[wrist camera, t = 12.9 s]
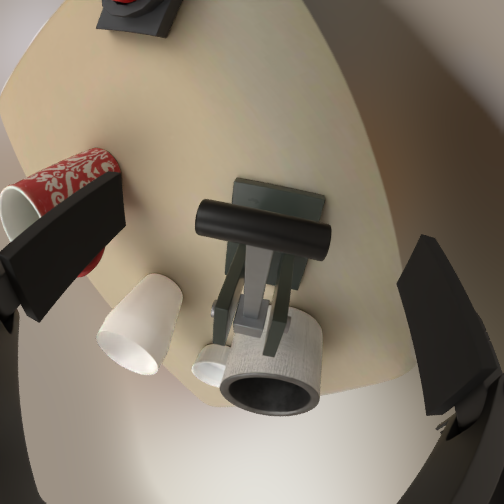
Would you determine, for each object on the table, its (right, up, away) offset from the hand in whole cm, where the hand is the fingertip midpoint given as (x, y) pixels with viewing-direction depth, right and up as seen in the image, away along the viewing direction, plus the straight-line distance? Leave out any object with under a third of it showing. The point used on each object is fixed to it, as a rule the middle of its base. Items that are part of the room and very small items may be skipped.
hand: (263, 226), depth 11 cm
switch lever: (0, -2, +6) cm, 6 cm away
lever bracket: (+2, +1, +20) cm, 20 cm away
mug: (-19, +7, +20) cm, 28 cm away
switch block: (-10, +25, +6) cm, 27 cm away
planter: (+4, -12, +29) cm, 31 cm away
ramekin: (-5, -19, +35) cm, 40 cm away
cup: (-13, -7, +28) cm, 32 cm away
